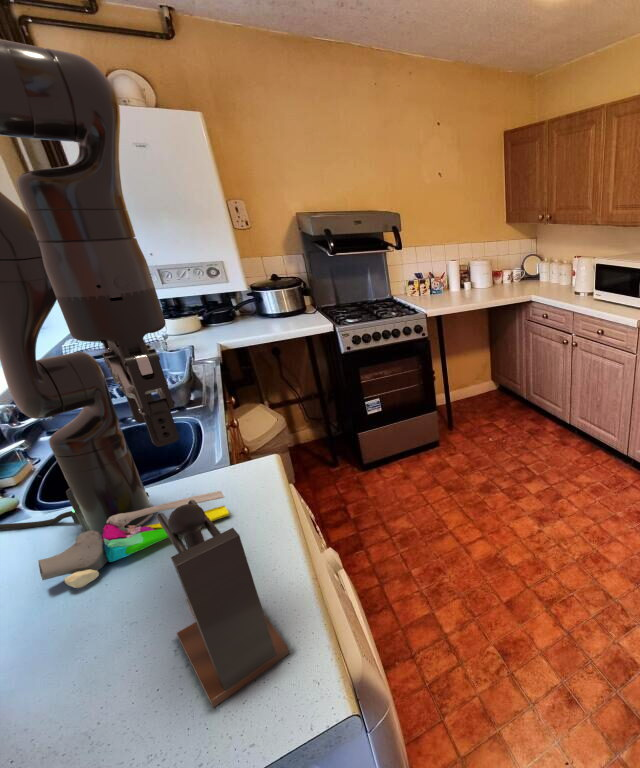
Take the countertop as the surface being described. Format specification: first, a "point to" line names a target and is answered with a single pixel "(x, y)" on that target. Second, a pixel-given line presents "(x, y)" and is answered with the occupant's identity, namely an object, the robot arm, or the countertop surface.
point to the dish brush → (188, 525)
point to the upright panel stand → (223, 613)
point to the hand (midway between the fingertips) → (157, 431)
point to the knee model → (115, 542)
